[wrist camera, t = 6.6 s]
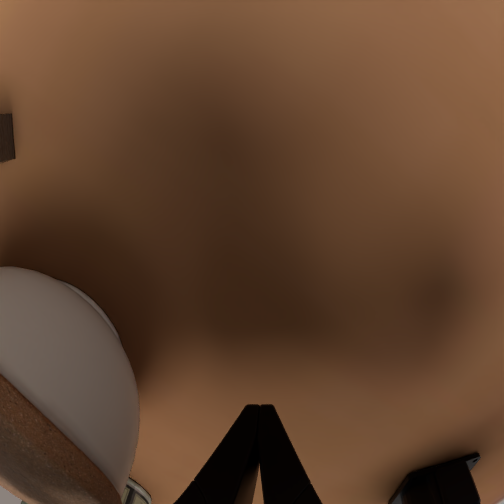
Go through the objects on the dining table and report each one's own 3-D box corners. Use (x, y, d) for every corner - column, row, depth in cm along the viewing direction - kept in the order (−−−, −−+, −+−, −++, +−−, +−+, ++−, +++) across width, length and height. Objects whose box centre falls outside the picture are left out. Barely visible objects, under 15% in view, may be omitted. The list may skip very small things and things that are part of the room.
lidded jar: (186, 425, 15) (144, 582, 6) (33, 388, 15) (-35, 489, 7) (153, 227, 11) (-47, 439, 2) (-25, 229, 11) (-155, 314, 3)
